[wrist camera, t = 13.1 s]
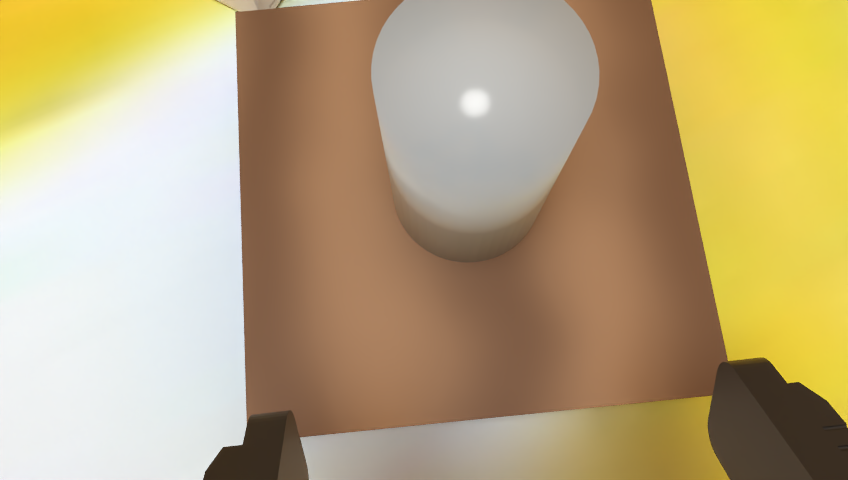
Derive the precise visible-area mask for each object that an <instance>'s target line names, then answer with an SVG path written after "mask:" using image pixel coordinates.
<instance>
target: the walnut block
mask: <svg viewBox="0 0 848 480" xmlns="http://www.w3.org/2000/svg"><path fill="white" fill-rule="evenodd" d="M403 1H404V0H360V1H349V2H338V3H328V4H317V5H306V6H295V7H285V8H274V9H263V10H252V11H242V12H236V48H237V84H238V120H239V156H240V192H241V228H242V264H243V300H244V336H245V372H246V408H247V423H248V420H249V417H250V416H251V415H253V414H262V413H271V412H279V411H288V410H291V411H292V412H293V414H294V417H295V421H296V425H297V429H298V433H299V437H306V436H316V435H326V434H335V433H345V432H355V431H365V430H375V429H385V428H395V427H405V426H414V425H424V424H434V423H444V422H454V421H464V420H474V419H483V418H493V417H503V416H513V415H523V414H533V413H543V412H553V411H562V410H572V409H582V408H592V407H602V406H612V405H622V404H632V403H641V402H651V401H661V400H671V399H681V398H691V397H701V396H710V395H713V390H714V384H715V379H716V373H717V369H718V366H719V365H720V363H722V362H727V361H728V360H727V355H726V350H725V345H724V341H723V336H722V331H721V327H720V322H719V317H718V313H717V308H716V303H715V299H714V294H713V289H712V284H711V280H710V275H709V270H708V266H707V261H706V256H705V252H704V247H703V242H702V238H701V233H700V228H699V223H698V219H697V214H696V209H695V205H694V200H693V195H692V191H691V186H690V181H689V176H688V172H687V167H686V162H685V158H684V153H683V148H682V144H681V139H680V134H679V130H678V125H677V120H676V115H675V111H674V106H673V101H672V97H671V92H670V87H669V83H668V78H667V73H666V69H665V64H664V59H663V54H662V50H661V45H660V40H659V36H658V31H657V26H656V22H655V17H654V12H653V7H652V3H651V0H564V1H565V2H566V3H567V4H568V5H569V6H570V7H571V8H572V9H573V10H574V11H575V12H576V13H577V15H578V16H579V17H580V18H581V20H582V21H583V23H584V24H585V26H586V28H587V30H588V31H589V33H590V35H591V38H592V40H593V43H594V45H595V49H596V53H597V57H598V63H599V88H598V93H597V99H596V102H595V105H594V108H593V110H592V113H591V115H590V117H589V119H588V121H587V123H586V125H585V126H584V128H583V130H582V132H581V134H580V136H579V138H578V140H577V142H576V144H575V145H574V147H573V149H572V151H571V153H570V155H569V157H568V159H567V161H566V162H565V164H564V166H563V168H562V170H561V172H560V174H559V176H558V178H557V180H556V181H555V183H554V185H553V187H552V189H551V191H550V193H549V195H548V197H547V199H546V200H545V202H544V204H543V206H542V208H541V210H540V212H539V214H538V216H537V218H536V219H535V221H534V223H533V225H532V227H531V229H530V230H529V232H528V233H527V234H526V236H525V237H524V238H523V239H522V240H521V241H520V242H519V243H518V244H517V245H516V246H514V247H513V248H512V249H510V250H509V251H507V252H505V253H504V254H502V255H500V256H497V257H495V258H492V259H489V260H485V261H479V262H455V261H451V260H447V259H444V258H441V257H438V256H436V255H434V254H432V253H430V252H428V251H427V250H425V249H424V248H422V247H421V246H419V245H418V244H417V243H416V242H415V241H414V240H413V239H412V238H411V237H410V236H409V234H408V233H407V232H406V230H405V229H404V227H403V226H402V224H401V222H400V220H399V218H398V215H397V212H396V209H395V205H394V199H393V194H392V189H391V184H390V178H389V173H388V168H387V162H386V157H385V152H384V146H383V141H382V136H381V131H380V125H379V120H378V115H377V109H376V104H375V99H374V94H373V87H372V81H371V64H372V57H373V51H374V48H375V44H376V41H377V38H378V36H379V34H380V32H381V29H382V27H383V26H384V24H385V23H386V21H387V19H388V18H389V16H390V15H391V14H392V13H393V11H394V10H395V9H396V8H397V7H398V6H399V5H400V4H401V3H402V2H403Z"/></svg>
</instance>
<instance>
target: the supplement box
mask: <svg viewBox="0 0 848 480" xmlns="http://www.w3.org/2000/svg"><path fill="white" fill-rule="evenodd" d="M217 1H219V2H221V3H223V4H225V5H227V6H229V7H231V8H233V9H235V10H237V11H239V12H242V11H252V10H263V9H274V8H276V7H277V6H278V4H279V3H280V1H281V0H217Z"/></svg>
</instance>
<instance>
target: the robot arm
mask: <svg viewBox="0 0 848 480" xmlns="http://www.w3.org/2000/svg"><path fill="white" fill-rule="evenodd" d="M708 432H709V437H710V441H711V445H712V447H713V450H714V452H715V454H716V456H717V458H718V459H719V461H720V463H721V465H722V466H723V468H724V470H725V471H726V473H727V475H728V477H729V478H730V480H848V428H847V426H846V423H845V422H844V421H843V419H842V418H841V417H840V416H839V415H838V413H837V412H836V411H835V410H834V409H833V408H832V406H831V405H830V404H829V403H828V402H827V401H826V400H825V399H823V398H822V397H820V396H819V395H817V394H816V393H814V392H813V391H811V390H810V389H808V388H807V387H805V386H804V385H802V384H801V383H799V382H796V383H788V384H787V382H786V381H785V380H784V379H783V377H782V376H781V375H780V374H779V372H778V371H777V370H776V369H775V367H774V366H773V365H772V364H771V363H770V361H768V360H767V359H765V358H753V359H744V360H736V361H727V362H722V363H720V365H719V366H718V369H717V373H716V379H715V384H714V390H713V395H712V401H711V406H710V412H709V417H708ZM203 480H309V477H308V469H307V464H306V460H305V456H304V452H303V448H302V444H301V441H300V437H299V433H298V429H297V425H296V421H295V417H294V414H293V412H292V411H291V410H288V411H279V412H271V413H262V414H253V415H251V416H250V417H249V420H248V423H247V428H246V432H245V437H244V441H243V445H238V446H230V447H223V448H222V449H221V451H220V452H219V453H218V455H217V456H216V458H215V459H214V460H213V462H212V463H211V464H210V466H209V467H208V469H207V470H206V471H205V475H204V478H203Z"/></svg>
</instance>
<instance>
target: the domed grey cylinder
mask: <svg viewBox="0 0 848 480" xmlns="http://www.w3.org/2000/svg"><path fill="white" fill-rule="evenodd" d="M371 81H372V87H373V94H374V99H375V104H376V109H377V115H378V120H379V125H380V131H381V136H382V141H383V146H384V152H385V157H386V162H387V168H388V173H389V178H390V184H391V189H392V194H393V199H394V205H395V209H396V212H397V215H398V218H399V220H400V222H401V224H402V226H403V227H404V229H405V230H406V232H407V233H408V234H409V236H410V237H411V238H412V239H413V240H414V241H415V242H416V243H417V244H418V245H419V246H421V247H422V248H424V249H425V250H427V251H428V252H430V253H432V254H434V255H436V256H438V257H441V258H444V259H447V260H451V261H455V262H479V261H485V260H489V259H492V258H495V257H497V256H500V255H502V254H504V253H505V252H507V251H509V250H510V249H512V248H513V247H514V246H516V245H517V244H518V243H519V242H520V241H521V240H522V239H523V238H524V237H525V236H526V234H527V233H528V232H529V230H530V229H531V227H532V225H533V223H534V221H535V219H536V218H537V216H538V214H539V212H540V210H541V208H542V206H543V204H544V202H545V200H546V199H547V197H548V195H549V193H550V191H551V189H552V187H553V185H554V183H555V181H556V180H557V178H558V176H559V174H560V172H561V170H562V168H563V166H564V164H565V162H566V161H567V159H568V157H569V155H570V153H571V151H572V149H573V147H574V145H575V144H576V142H577V140H578V138H579V136H580V134H581V132H582V130H583V128H584V126H585V125H586V123H587V121H588V119H589V117H590V115H591V113H592V110H593V108H594V105H595V102H596V99H597V93H598V88H599V63H598V57H597V53H596V49H595V45H594V43H593V40H592V38H591V35H590V33H589V31H588V30H587V28H586V26H585V24H584V23H583V21H582V20H581V18H580V17H579V16H578V15H577V13H576V12H575V11H574V10H573V9H572V8H571V7H570V6H569V5H568V4H567V3H566V2H565V1H564V0H404V1H403V2H402V3H401V4H400V5H399V6H398V7H397V8H396V9H395V10H394V11H393V13H392V14H391V15H390V16H389V18H388V19H387V21H386V23H385V24H384V26H383V27H382V29H381V32H380V34H379V36H378V38H377V41H376V44H375V48H374V51H373V57H372V64H371Z"/></svg>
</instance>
